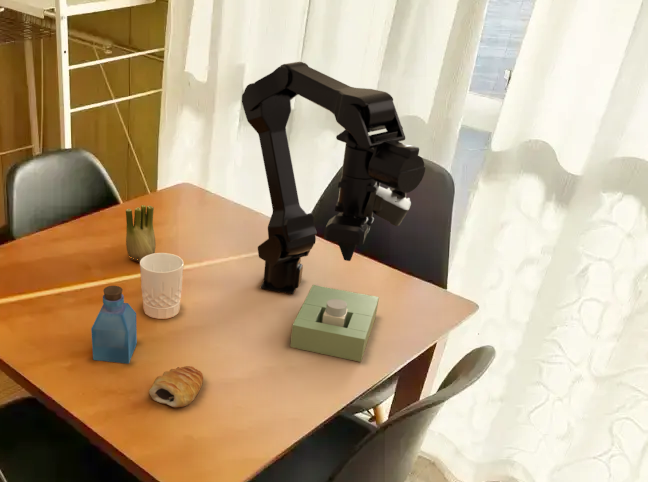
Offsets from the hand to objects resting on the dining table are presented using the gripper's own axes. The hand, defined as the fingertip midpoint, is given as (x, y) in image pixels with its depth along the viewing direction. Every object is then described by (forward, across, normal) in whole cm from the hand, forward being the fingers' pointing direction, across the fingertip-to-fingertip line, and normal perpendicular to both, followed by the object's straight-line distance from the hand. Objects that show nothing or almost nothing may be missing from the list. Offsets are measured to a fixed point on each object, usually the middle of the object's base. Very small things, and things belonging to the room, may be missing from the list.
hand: (347, 259), depth 129 cm
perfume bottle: (+13, -24, +33) cm, 43 cm away
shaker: (+9, -4, 0) cm, 10 cm away
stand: (+12, -4, 0) cm, 13 cm away
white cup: (+13, -8, +31) cm, 35 cm away
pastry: (+13, -31, +19) cm, 39 cm away
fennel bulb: (+13, +10, +43) cm, 46 cm away
